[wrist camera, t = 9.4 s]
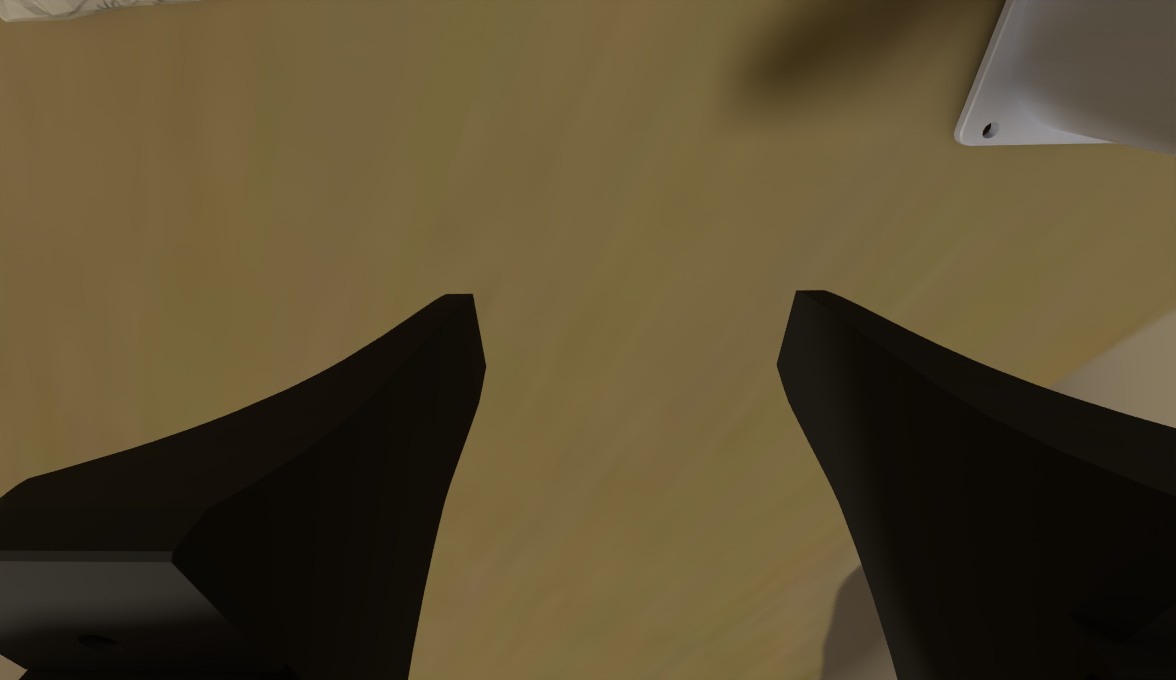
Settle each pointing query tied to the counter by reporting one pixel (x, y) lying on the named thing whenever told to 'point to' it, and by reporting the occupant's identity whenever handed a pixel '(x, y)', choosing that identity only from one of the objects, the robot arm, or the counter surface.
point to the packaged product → (67, 8)
